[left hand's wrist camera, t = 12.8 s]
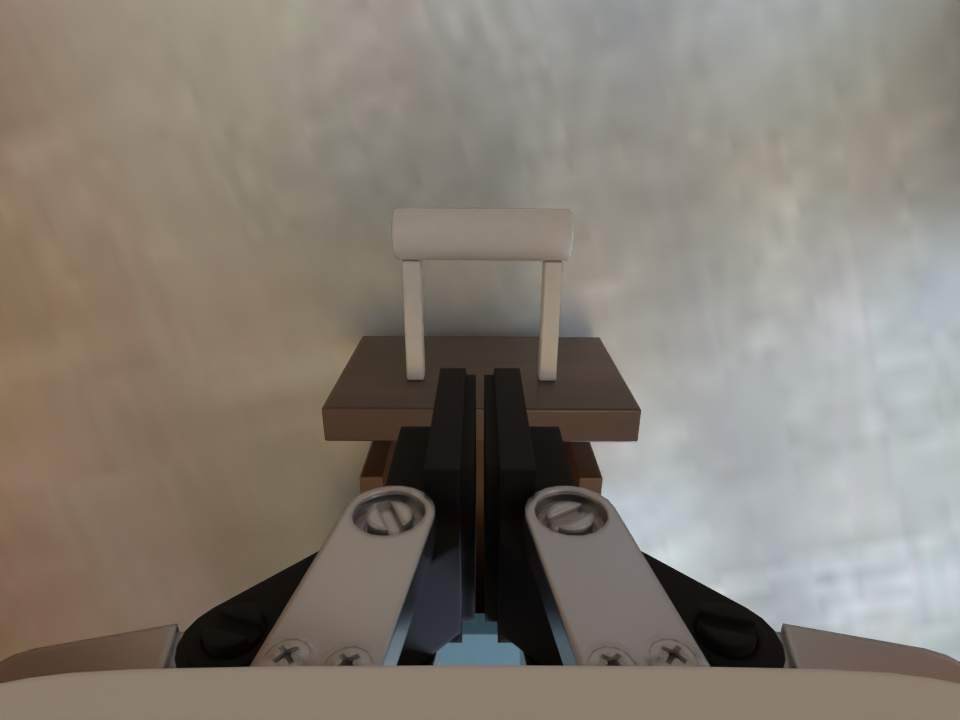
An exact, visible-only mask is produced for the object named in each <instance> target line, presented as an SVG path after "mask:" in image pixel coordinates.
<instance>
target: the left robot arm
mask: <svg viewBox="0 0 960 720" xmlns="http://www.w3.org/2000/svg"><path fill="white" fill-rule="evenodd" d="M475 570H476V375H466V368H440V373H439V379H438V385H437V391H436V397H435V403H434V409H433V415H432V421H431V426H402V427H401V429H400V432H399V436H398V439H397V443H396V447H395V451H394V455H393V458H392V462H391V466H390V470H389V473H388V477H387V481H386V485H385V487H379V488H374V489H372V490H369V491H366V492H364V493H362V494H360V495H359V496H357V497H356V498H354V499H352V500H351V502H350V503H349V504H348V505H347V506H346V507H345V509H344V510H343V512H342V514H341V515H340V517H339V519H338V520H337V522H336V524H335V525H334V527H333V529H332V530H331V532H330V534H329V535H328V537H327V539H326V540H325V542H324V544H323V545H322V547H321V549H320V550H319V551H318V552H316V553H314V554H313V555H311V556H309V557H307V558H305V559H303V560H302V561H300V562H298V563H296V564H294V565H292V566H290V567H289V568H287V569H285V570H283V571H281V572H279V573H277V574H276V575H274V576H272V577H270V578H268V579H266V580H264V581H263V582H261V583H259V584H257V585H255V586H253V587H252V588H250V589H248V590H246V591H244V592H242V593H240V594H239V595H237V596H235V597H233V598H231V599H229V600H227V601H226V602H224V603H222V604H220V605H218V606H216V607H214V608H213V609H211V610H210V611H208V612H207V613H205V614H204V615H202V616H201V617H199V618H198V619H197V620H196V621H195V622H194V623H193V624H192V625H191V626H190V627H189V628H188V629H187V630H186V631H185V632H179V629H178V625H177V624H171V625H166V626H160V627H154V628H149V629H143V630H137V631H132V632H126V633H120V634H115V635H109V636H103V637H98V638H92V639H86V640H81V641H75V642H69V643H64V644H58V645H52V646H47V647H41V648H35V649H32V650H29V651H25V652H22V653H18V654H15V655H13V656H11V657H9V658H7V659H5V660H3V661H1V662H0V720H960V662H959V661H957V660H955V659H953V658H951V657H949V656H947V655H945V654H942V653H938V652H935V651H931V650H928V649H925V648H919V647H913V646H908V645H902V644H896V643H891V642H885V641H879V640H874V639H868V638H862V637H857V636H851V635H845V634H840V633H834V632H828V631H823V630H817V629H811V628H806V627H800V626H794V625H789V624H783V625H782V629H781V632H775V631H774V630H773V629H772V628H771V627H770V626H769V625H768V624H767V623H766V622H765V621H764V620H763V619H762V618H761V617H759V616H758V615H756V614H755V613H753V612H752V611H750V610H749V609H747V608H746V607H744V606H742V605H740V604H738V603H736V602H734V601H733V600H731V599H729V598H727V597H725V596H723V595H721V594H720V593H718V592H716V591H714V590H712V589H710V588H708V587H707V586H705V585H703V584H701V583H699V582H697V581H696V580H694V579H692V578H690V577H688V576H686V575H684V574H683V573H681V572H679V571H677V570H675V569H673V568H671V567H670V566H668V565H666V564H664V563H662V562H660V561H658V560H657V559H655V558H653V557H651V556H649V555H647V554H646V553H644V552H642V551H641V550H640V549H639V547H638V545H637V544H636V542H635V540H634V539H633V537H632V535H631V534H630V532H629V530H628V529H627V527H626V525H625V524H624V522H623V520H622V519H621V517H620V515H619V514H618V512H617V510H616V509H615V507H614V506H613V505H612V504H611V503H610V502H609V500H608V499H606V498H604V497H603V496H601V495H600V494H598V493H596V492H593V491H591V490H588V489H586V488H581V487H575V485H574V481H573V477H572V473H571V470H570V466H569V462H568V458H567V455H566V451H565V447H564V443H563V439H562V436H561V432H560V429H559V427H558V426H529V421H528V415H527V409H526V403H525V397H524V391H523V385H522V379H521V373H520V368H494V375H484V570H485V622H497V636H498V643H513V644H514V645H515V646H517V647H518V648H519V649H520V666H518V665H442V666H440V649H441V648H442V647H443V646H445V645H446V644H447V643H462V636H463V622H475Z"/></svg>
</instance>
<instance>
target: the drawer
mask: <svg viewBox="0 0 960 720" xmlns="http://www.w3.org/2000/svg"><path fill="white" fill-rule="evenodd" d="M573 231H574V227H573V215H572V211H571V210H570V209H489V208H395V209H394V211H393V215H392V247H393V253H394V256H395V259H397V260H403V261H402V282H403V304H404V326H405V337H403V336H363V337H362V339H361V341H360V342H359V344H358V346H357V348H356V349H355V351H354V353H353V355H352V356H351V358H350V360H349V362H348V363H347V365H346V367H345V369H344V370H343V372H342V374H341V376H340V378H339V379H338V381H337V383H336V385H335V386H334V388H333V390H332V392H331V393H330V395H329V397H328V399H327V400H326V402H325V404H324V406H323V407H322V415H323V424H324V434H325V439H326V440H327V441H372V443H371V446H370V449H369V452H368V455H367V458H366V461H365V464H364V466H363V469H362V472H361V475H360V488H361V494H362V493H364V492H366V491H369V490H372V489H374V488H379V487H385V485H386V481H387V477H388V473H389V470H390V466H391V462H392V458H393V455H394V451H395V447H396V443H397V439H398V436H399V432H400V429H401V427H402V426H431V421H432V415H433V409H434V403H435V397H436V391H437V385H438V379H439V373H440V368H466V375H476V570H475V613H485V570H484V375H494V368H520V373H521V379H522V385H523V391H524V397H525V403H526V409H527V415H528V421H529V426H558V427H559V429H560V432H561V436H562V439H563V443H564V447H565V451H566V455H567V458H568V462H569V466H570V470H571V473H572V477H573V481H574V485H575V487H581V488H586V489H588V490H591V491H593V492H596V493H598V494H600V495H601V489H602V479H603V478H602V476H601V473H600V470H599V467H598V464H597V461H596V458H595V456H594V453H593V450H592V447H591V444H590V442H637V440H638V432H639V424H640V415H641V409H640V407H639V406H638V404H637V402H636V400H635V399H634V397H633V395H632V393H631V392H630V390H629V388H628V386H627V385H626V383H625V381H624V379H623V378H622V376H621V374H620V372H619V371H618V369H617V367H616V366H615V364H614V362H613V360H612V359H611V357H610V355H609V353H608V352H607V350H606V348H605V346H604V345H603V343H602V341H601V339H600V338H592V337H559V320H560V303H561V286H562V270H563V263H562V261H567V260H569V259H570V256H571V253H572V247H573ZM422 260H535V261H543V268H542V290H541V311H540V333H539V337H424V320H423V289H422Z"/></svg>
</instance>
